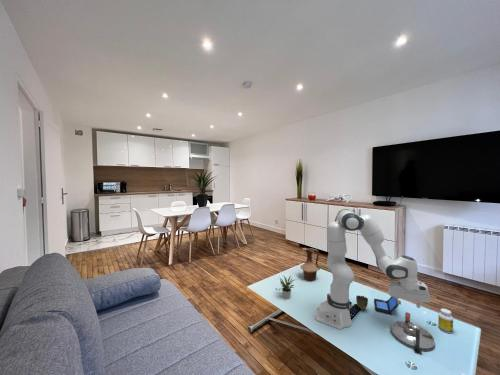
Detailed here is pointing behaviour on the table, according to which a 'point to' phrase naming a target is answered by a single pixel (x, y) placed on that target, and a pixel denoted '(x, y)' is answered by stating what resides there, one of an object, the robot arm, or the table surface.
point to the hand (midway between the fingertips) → (408, 305)
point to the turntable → (398, 332)
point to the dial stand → (417, 339)
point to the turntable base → (411, 346)
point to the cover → (409, 329)
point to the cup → (362, 302)
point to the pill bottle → (445, 321)
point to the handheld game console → (386, 305)
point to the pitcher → (310, 265)
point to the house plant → (286, 287)
